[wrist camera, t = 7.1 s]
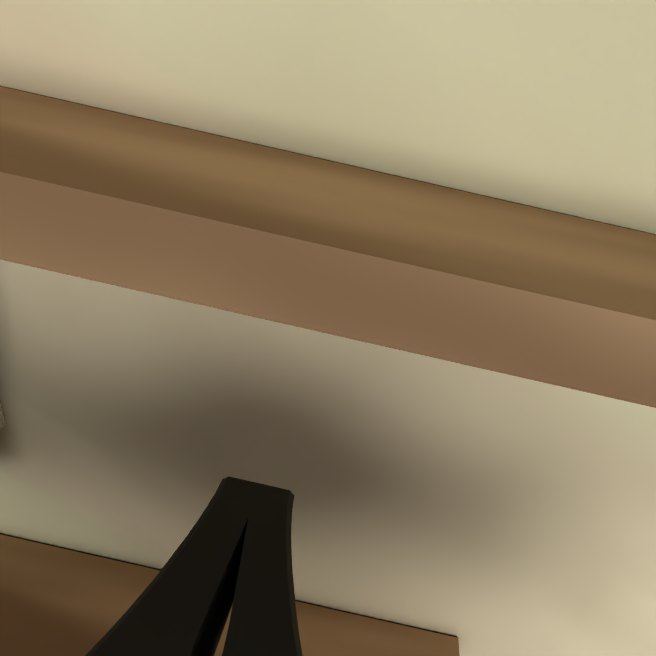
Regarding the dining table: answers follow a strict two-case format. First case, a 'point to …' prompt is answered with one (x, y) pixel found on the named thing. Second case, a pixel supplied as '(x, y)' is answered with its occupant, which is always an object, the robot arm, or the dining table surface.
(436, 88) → the dining table surface
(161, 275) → the bay
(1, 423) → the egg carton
